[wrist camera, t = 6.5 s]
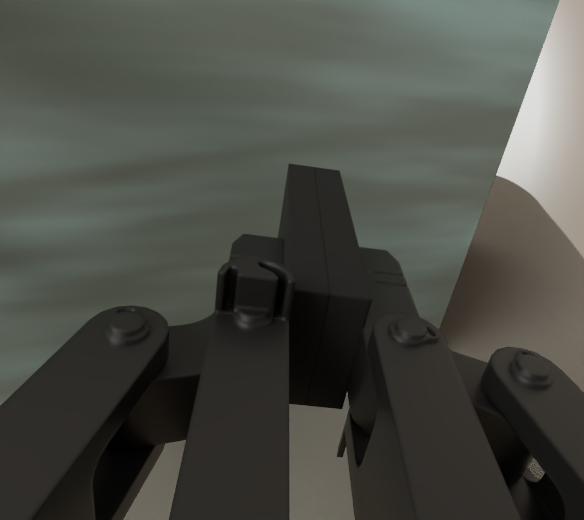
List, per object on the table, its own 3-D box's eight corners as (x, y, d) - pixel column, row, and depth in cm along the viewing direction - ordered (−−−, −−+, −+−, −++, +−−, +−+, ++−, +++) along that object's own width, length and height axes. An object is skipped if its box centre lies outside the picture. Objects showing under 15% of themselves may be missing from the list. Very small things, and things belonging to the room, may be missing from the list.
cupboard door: (497, 433, 24) (825, -214, 12) (-185, 597, 15) (-1571, -1510, 3) (421, 343, 29) (599, -168, 18) (-115, 421, 20) (-496, -566, 8)
